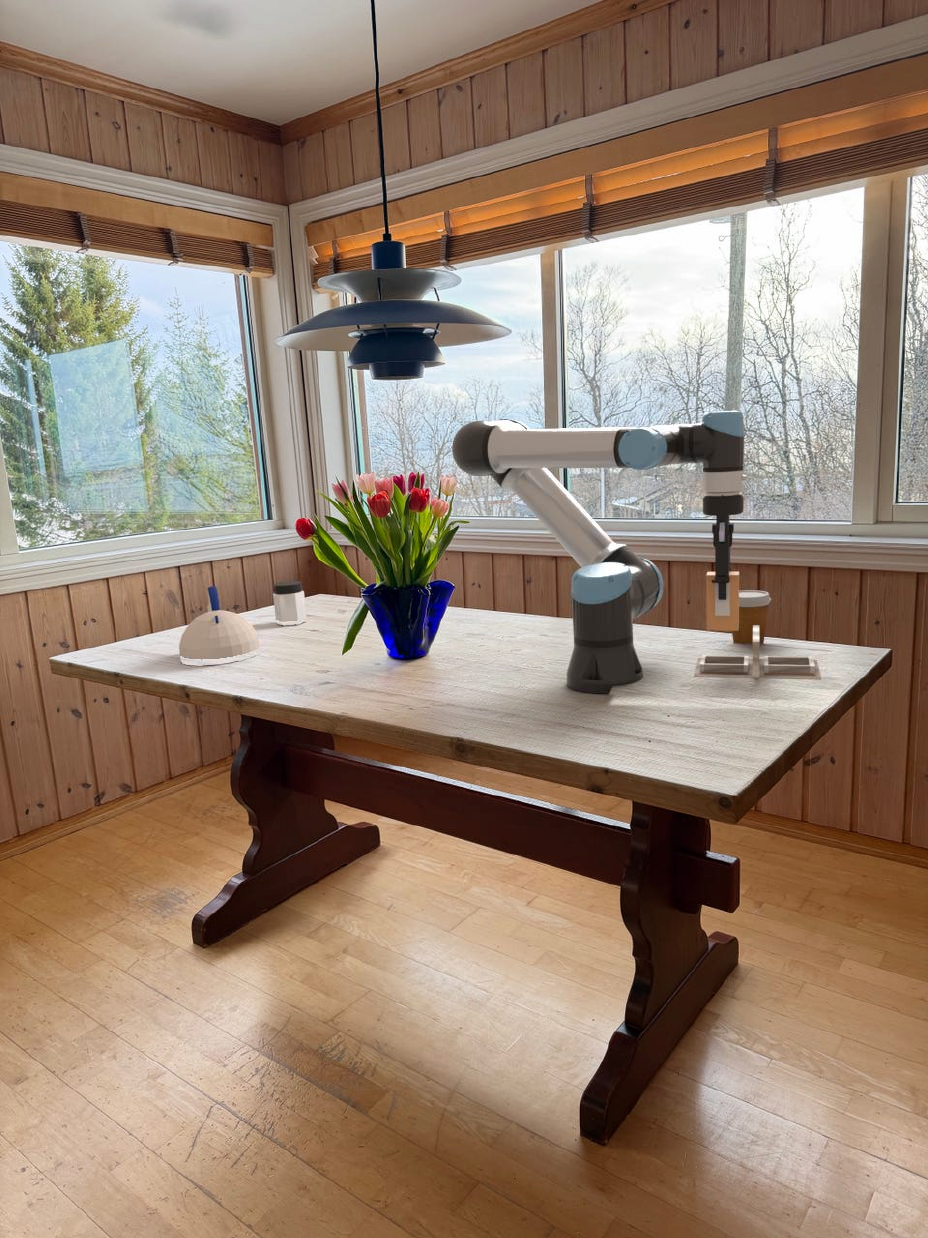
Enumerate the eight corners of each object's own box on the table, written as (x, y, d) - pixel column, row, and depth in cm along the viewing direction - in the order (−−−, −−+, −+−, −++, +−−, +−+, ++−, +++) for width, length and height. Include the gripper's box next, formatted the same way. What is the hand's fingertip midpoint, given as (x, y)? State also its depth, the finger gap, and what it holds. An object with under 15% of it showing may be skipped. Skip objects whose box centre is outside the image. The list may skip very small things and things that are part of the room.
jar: (272, 623, 257) (268, 583, 254) (297, 619, 262) (293, 579, 259) (285, 627, 250) (280, 586, 247) (311, 622, 254) (306, 582, 252)
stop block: (738, 630, 169) (738, 575, 167) (706, 630, 171) (706, 575, 169) (738, 626, 173) (739, 571, 170) (707, 625, 175) (707, 571, 172)
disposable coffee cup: (773, 651, 188) (774, 597, 186) (728, 652, 190) (727, 598, 188) (767, 640, 197) (768, 589, 195) (724, 641, 199) (723, 590, 197)
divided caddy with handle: (821, 686, 162) (821, 642, 160) (693, 683, 169) (693, 641, 167) (816, 666, 174) (817, 625, 173) (698, 664, 182) (697, 625, 180)
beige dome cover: (257, 642, 234) (249, 576, 230) (265, 659, 214) (256, 587, 211) (179, 653, 228) (169, 585, 224) (179, 671, 208) (169, 597, 205)
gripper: (742, 496, 157) (742, 622, 162) (744, 489, 173) (743, 604, 178) (700, 498, 160) (700, 622, 164) (705, 490, 175) (705, 604, 180)
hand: (722, 612), depth 171 cm, fingers closed on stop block, 4 cm apart
